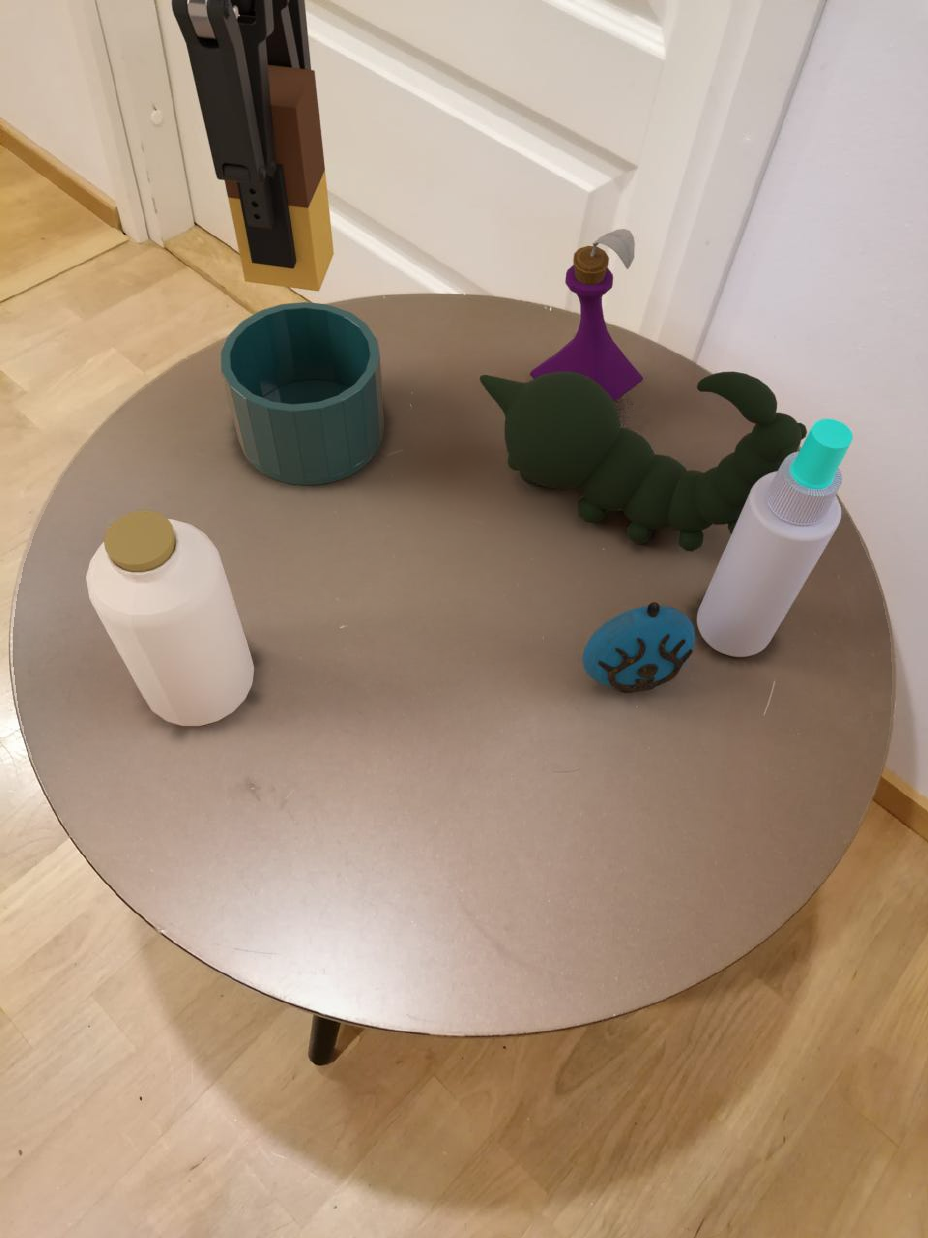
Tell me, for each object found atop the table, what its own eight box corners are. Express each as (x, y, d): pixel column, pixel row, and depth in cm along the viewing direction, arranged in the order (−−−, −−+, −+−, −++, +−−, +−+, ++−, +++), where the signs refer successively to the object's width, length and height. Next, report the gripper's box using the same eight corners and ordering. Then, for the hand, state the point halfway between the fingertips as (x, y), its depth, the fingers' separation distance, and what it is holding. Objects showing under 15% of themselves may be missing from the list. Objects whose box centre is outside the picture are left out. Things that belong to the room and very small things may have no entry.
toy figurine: (743, 525, 83) (491, 409, 86) (841, 369, 66) (526, 234, 70) (708, 604, 78) (444, 478, 82) (805, 457, 62) (469, 308, 65)
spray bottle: (770, 602, 76) (879, 404, 58) (771, 665, 73) (886, 477, 55) (696, 590, 77) (780, 391, 58) (693, 653, 74) (782, 462, 55)
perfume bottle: (525, 399, 88) (545, 228, 73) (580, 362, 91) (609, 191, 76) (583, 443, 85) (616, 276, 70) (637, 404, 88) (680, 235, 73)
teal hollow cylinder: (221, 474, 82) (200, 399, 74) (260, 372, 89) (245, 293, 81) (367, 494, 81) (361, 420, 74) (395, 389, 88) (392, 311, 81)
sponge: (319, 291, 61) (296, 107, 51) (244, 281, 61) (207, 96, 51) (334, 253, 63) (314, 69, 53) (262, 244, 63) (229, 59, 53)
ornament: (584, 711, 70) (605, 642, 62) (570, 658, 73) (588, 586, 64) (689, 696, 71) (724, 627, 63) (672, 645, 74) (703, 571, 65)
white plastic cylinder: (187, 619, 74) (124, 465, 59) (277, 661, 72) (237, 513, 57) (121, 703, 70) (36, 560, 54) (215, 750, 68) (154, 615, 53)
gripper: (236, -149, 36) (306, 335, 56) (342, -288, 45) (370, 170, 65) (49, -169, 36) (185, 318, 56) (192, -302, 45) (265, 157, 65)
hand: (284, 238), depth 60 cm, fingers closed on sponge, 4 cm apart
